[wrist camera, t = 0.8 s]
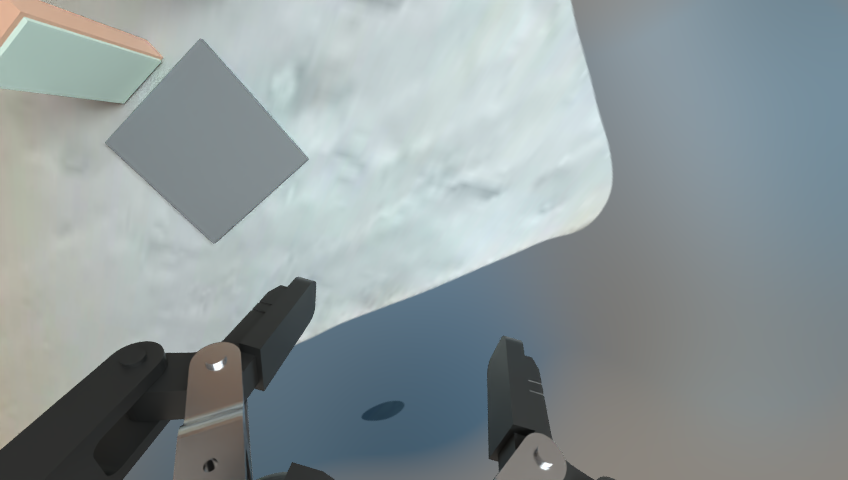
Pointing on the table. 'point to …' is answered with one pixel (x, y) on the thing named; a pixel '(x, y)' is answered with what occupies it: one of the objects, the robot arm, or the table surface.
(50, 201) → the table surface
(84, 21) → the tile
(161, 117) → the mat
